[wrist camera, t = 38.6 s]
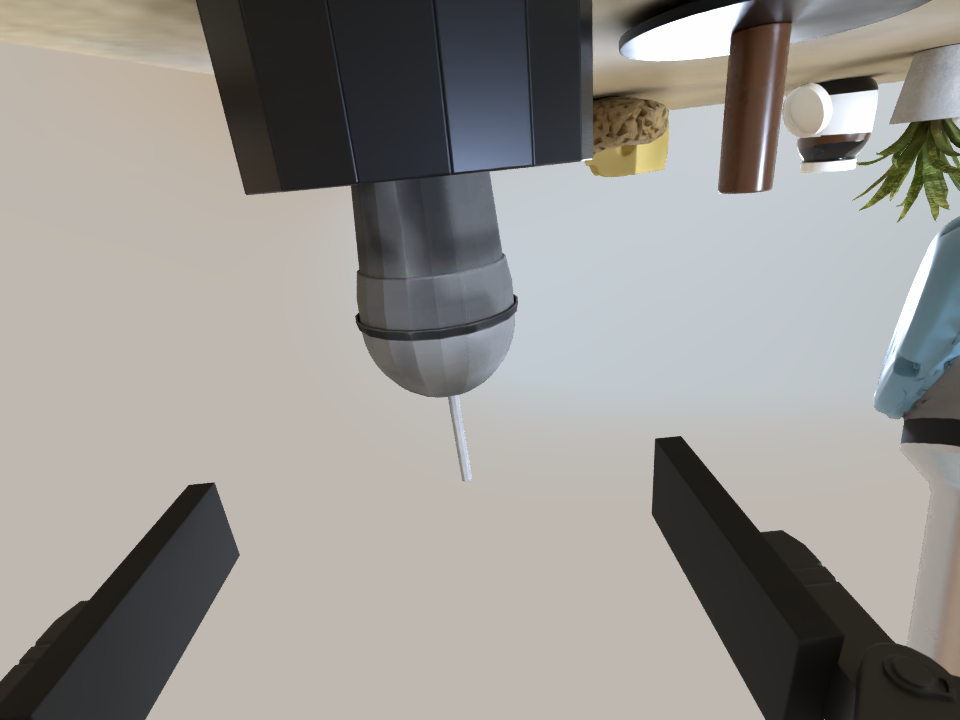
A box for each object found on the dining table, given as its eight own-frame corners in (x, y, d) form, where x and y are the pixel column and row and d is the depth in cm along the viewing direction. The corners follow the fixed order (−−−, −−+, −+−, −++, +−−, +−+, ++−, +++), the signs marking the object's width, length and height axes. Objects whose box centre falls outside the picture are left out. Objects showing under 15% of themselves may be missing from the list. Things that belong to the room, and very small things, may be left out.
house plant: (1055, 38, 48) (1005, 211, 54) (876, 67, 57) (850, 213, 63) (1079, 18, 38) (1015, 231, 44) (859, 57, 47) (830, 230, 53)
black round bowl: (650, -146, 11) (642, 156, 14) (550, 18, 24) (555, 162, 26) (75, -89, 11) (167, 204, 14) (276, 46, 24) (306, 187, 26)
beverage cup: (285, 28, 20) (372, 455, 27) (302, -48, 13) (409, 536, 21) (454, 30, 22) (491, 419, 29) (535, -34, 16) (557, 481, 23)
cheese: (580, 115, 81) (581, 179, 85) (640, 105, 74) (638, 175, 78) (614, 115, 88) (613, 174, 92) (671, 105, 80) (669, 170, 84)
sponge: (527, 105, 70) (671, 119, 65) (517, 163, 72) (656, 181, 67) (502, 74, 58) (676, 88, 53) (491, 144, 60) (657, 165, 55)
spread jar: (854, 82, 72) (840, 167, 76) (769, 92, 75) (760, 173, 79) (901, 69, 61) (882, 169, 66) (801, 82, 64) (788, 176, 68)
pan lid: (1057, -73, 18) (988, 181, 22) (808, 27, 32) (788, 177, 35) (685, -36, 18) (672, 213, 22) (590, 49, 32) (592, 196, 35)
